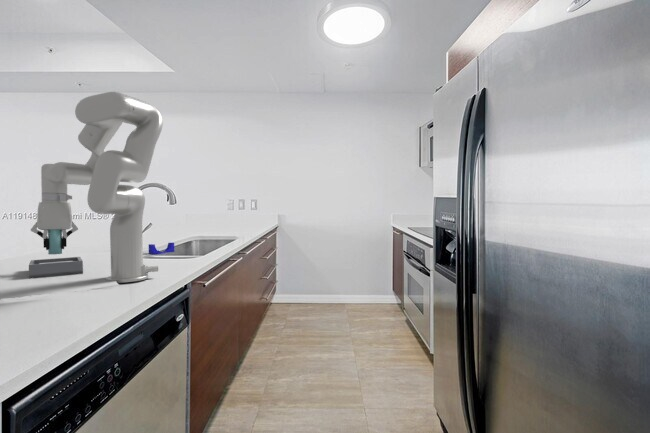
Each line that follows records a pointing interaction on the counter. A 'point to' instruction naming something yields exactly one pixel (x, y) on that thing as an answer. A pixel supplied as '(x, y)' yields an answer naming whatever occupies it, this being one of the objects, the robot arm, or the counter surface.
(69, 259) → the walled box
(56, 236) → the teal cylinder
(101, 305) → the counter surface
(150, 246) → the cable clip
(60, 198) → the robot arm
